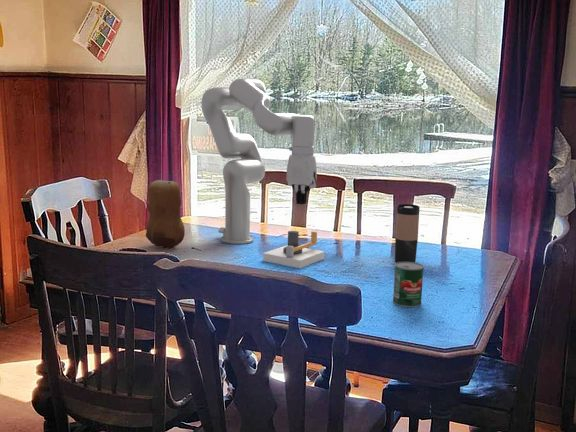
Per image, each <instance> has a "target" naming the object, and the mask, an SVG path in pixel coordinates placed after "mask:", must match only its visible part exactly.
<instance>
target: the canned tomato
mask: <svg viewBox="0 0 576 432" xmlns="http://www.w3.org/2000/svg"><path fill="white" fill-rule="evenodd" d="M424 267H425V266H424V265H423V264H421V263H419V262H398V263H396V262H395V264H394V279H393V296H392V297H393V298H392V302H393V304H394V305H396V306H398V307H404V308H418V307H420V306H421V305H422V299H423V298H422V295H423V293H422V292H423V282H424V281H423V280H424Z"/></svg>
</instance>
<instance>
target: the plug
mask: <svg viewBox="0 0 576 432" xmlns="http://www.w3.org/2000/svg"><path fill="white" fill-rule="evenodd" d="M299 233H300V232H299V231H298V230H289V231H287V245H288V246H294V247H297V246H299V235H300V234H299ZM283 252H284V253H286V247H284V248H283ZM301 253H302V249H300V250H298V251H295V252H294V255H295V254H301Z"/></svg>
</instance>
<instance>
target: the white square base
mask: <svg viewBox="0 0 576 432" xmlns="http://www.w3.org/2000/svg"><path fill="white" fill-rule="evenodd" d="M286 246H288V244H286V245H283V246H281V247H277V248H274V249H271V250H268V251H265V252H263V253H262V261H263V262H268V263H273V264H277V265H281V266H282V265H283V266H286V267H291V268H297V269H303V268H305V267H307V266H308V267H309V265H310V266H311V265H313V264H315V263H317V262H320V261H322V260H324V259H325V251H323V250H320V249H319V250H318V249H314V248H308V247H306V248H303V249H302V253H301V254H295V255H294V256H293V257H287V256H286V253H284V252H283V248H284V247H286Z"/></svg>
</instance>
